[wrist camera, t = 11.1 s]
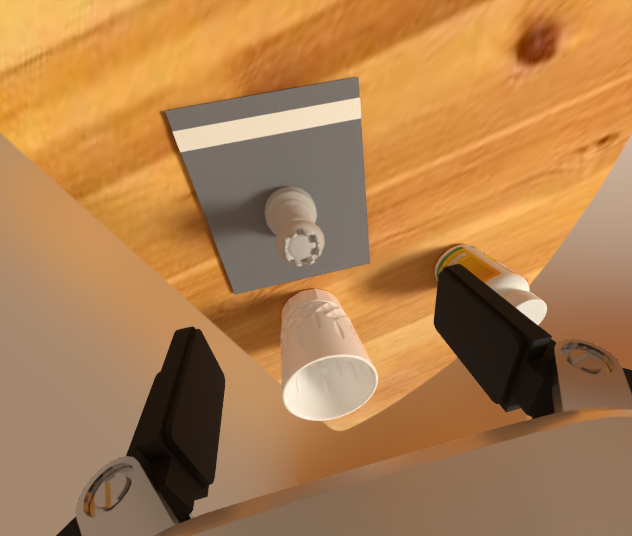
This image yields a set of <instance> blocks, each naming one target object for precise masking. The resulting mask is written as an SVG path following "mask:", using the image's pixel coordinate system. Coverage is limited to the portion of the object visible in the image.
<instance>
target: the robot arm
mask: <svg viewBox="0 0 632 536" xmlns="http://www.w3.org/2000/svg"><path fill="white" fill-rule="evenodd" d="M434 326H435V328H436V330H437V331H438V333H439V334H440V335H441V336H442V338H443V339H444V340H445V341H446V343H447V344H448V345H449V347H450V348H451V349H452V350H453V352H454V353H455V354H456V355H457V357H458V358H459V359H460V360H461V362H462V363H463V364H464V366H465V367H466V368H467V369H468V371H469V372H470V373H471V374H472V376H473V377H474V378H475V380H476V381H477V382H478V383H479V385H480V386H481V387H482V388H483V390H484V391H485V392H486V393H487V395H488V396H489V397H490V399H491V400H492V401H493V402H495V403H496V404H500V405H501V407H502V408H503V409H504V410H505V412H508V411H512V410H515V409H519V408H522V410H523V411H524V412H525V413H526V414H527V421H523V422H519V423H516V424H511V425H508V426H504V427H500V428H497V429H493V430H490V431H486V432H483V433H479V434H476V435H472V436H468V437H465V438H461V439H458V440H454V441H451V442H447V443H443V444H440V445H436V446H433V447H429V448H426V449H422V450H419V451H415V452H412V453H409V454H405V455H401V456H398V457H394V458H391V459H387V460H384V461H380V462H377V463H374V464H370V465H366V466H363V467H360V468H356V469H353V470H349V471H346V472H342V473H339V474H335V475H332V476H328V477H325V478H322V479H318V480H315V481H311V482H308V483H305V484H301V485H298V486H294V487H291V488H287V489H284V490H281V491H277V492H274V493H270V494H267V495H263V496H261V497H257V498H253V499H250V500H247V501H244V502H241V503H237V504H234V505H231V506H228V507H225V508H221V509H218V510H215V511H212V512H209V513H206V514H203V515H200V516H198V517H195V518H193V516H192V514H191V512H192V510H193V506H194V500H198V499H201V498H204V497H207V496H208V488H209V485H210V484H212V483H213V482H214V478H215V470H216V461H217V452H218V443H219V434H220V425H221V417H222V408H223V399H224V390H225V377H224V374H223V372H222V370H221V368H220V366H219V364H218V362H217V360H216V358H215V357H214V355H213V353H212V351H211V349H210V347H209V345H208V343H207V341H206V339H205V337H204V335H203V334H202V331H201V330H200V329H195V328H194V327H188V328H184V329H179V330H176V331H175V333H174V336H173V339H172V341H171V344H170V347H169V350H168V352H167V355H166V358H165V361H164V364H163V366H162V369H161V372H159V373H158V374H157V375H156V377H155V380H154V382H153V385H152V387H151V390H150V393H149V396H148V398H147V401H146V404H145V406H144V409H143V412H142V414H141V417H140V420H139V423H138V426H137V428H136V431H135V433H134V436H133V439H132V442H131V444H130V447H129V450H128V452H127V455H126V456H125V457H120V458H117V459H115V460H113V461H111V462H109V463H108V464H106V465H105V466H104V467H103V468H101V469H100V470H99V471H98V472H97V473H96V474H95V475H94V476H93V477H92V478H91V479H90V481H89V482H88V483H87V485H86V486H85V487H84V489H83V491H82V493H81V495H80V497H79V499H78V503H77V506H76V517H75V518H74V519H73V520H72V521H71V522H70V523H69V524H68V525H67V526H66V527H65V528H64V529H63V530H62V531H61V532H60V533H58V535H56V536H632V370H629V369H625V368H622V366H621V364H620V362H619V361H618V359H617V358H616V357H615V356H614V355H612V354H611V353H610V352H609V351H607V350H606V349H604V348H602V347H600V346H598V345H596V344H594V343H591V342H588V341H584V340H580V339H564V340H561V341H558V342H557V343H556V342H555V341H553V340H552V339H551V337H552V336H551V335H549V334H548V333H547V332H546V331H544V330H543V329H542V328H541V327H539V326H538V325H537V324H536V323H534V322H533V321H532V320H531V319H529V318H528V317H527V316H526V315H524V314H523V313H522V312H521V311H519V310H518V309H517V308H516V307H514V306H513V305H512V304H510V303H509V302H508V301H507V300H505V299H504V298H503V297H502V296H500V295H499V294H498V293H497V292H495V291H494V290H493V289H492V288H490V287H489V286H488V285H487V284H485V283H484V282H483V281H481V280H480V279H479V278H478V277H476V276H475V275H474V274H473V273H471V272H470V271H469V270H468V269H466V268H465V267H464V266H463V265H461V264H455V265H450V266H446V267H444V268H443V269H442V271H441V272H440V273H439V277H438V286H437V296H436V305H435V315H434Z"/></svg>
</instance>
